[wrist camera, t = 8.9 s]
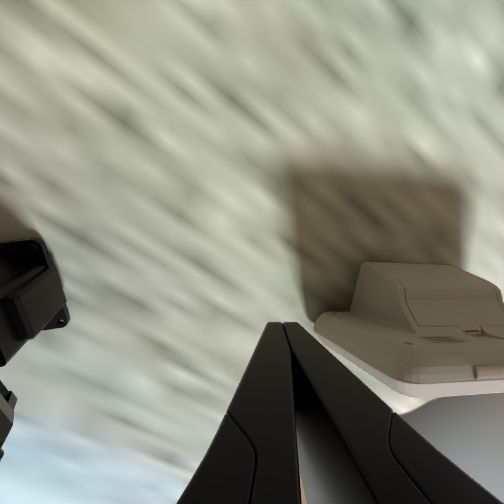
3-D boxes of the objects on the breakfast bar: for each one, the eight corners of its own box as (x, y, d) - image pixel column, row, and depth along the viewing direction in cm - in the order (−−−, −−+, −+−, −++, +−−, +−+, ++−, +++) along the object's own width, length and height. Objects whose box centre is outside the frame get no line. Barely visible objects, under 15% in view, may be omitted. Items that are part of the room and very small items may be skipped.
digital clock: (299, 328, 24) (368, 449, 14) (339, 231, 22) (456, 296, 12) (440, 353, 28) (570, 461, 18) (487, 275, 26) (665, 349, 16)
